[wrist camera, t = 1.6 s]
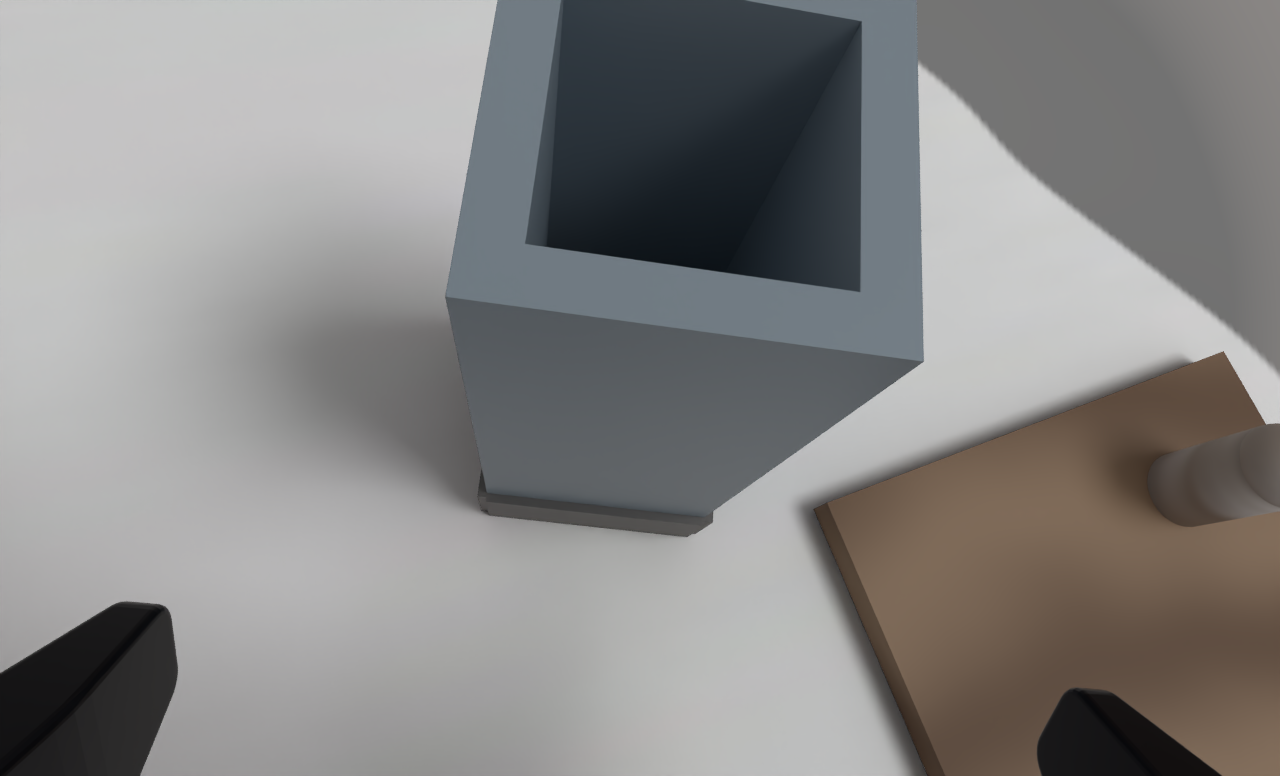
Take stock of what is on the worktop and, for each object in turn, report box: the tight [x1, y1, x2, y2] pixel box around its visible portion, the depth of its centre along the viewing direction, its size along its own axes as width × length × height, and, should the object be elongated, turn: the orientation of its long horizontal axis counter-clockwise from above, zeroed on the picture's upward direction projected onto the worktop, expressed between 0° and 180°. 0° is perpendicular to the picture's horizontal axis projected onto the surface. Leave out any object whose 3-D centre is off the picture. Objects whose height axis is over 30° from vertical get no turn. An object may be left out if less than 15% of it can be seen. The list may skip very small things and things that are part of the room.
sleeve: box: [445, 0, 924, 537], centre depth 15 cm, size 5×5×13 cm
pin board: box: [814, 351, 1280, 776], centre depth 19 cm, size 14×13×5 cm
